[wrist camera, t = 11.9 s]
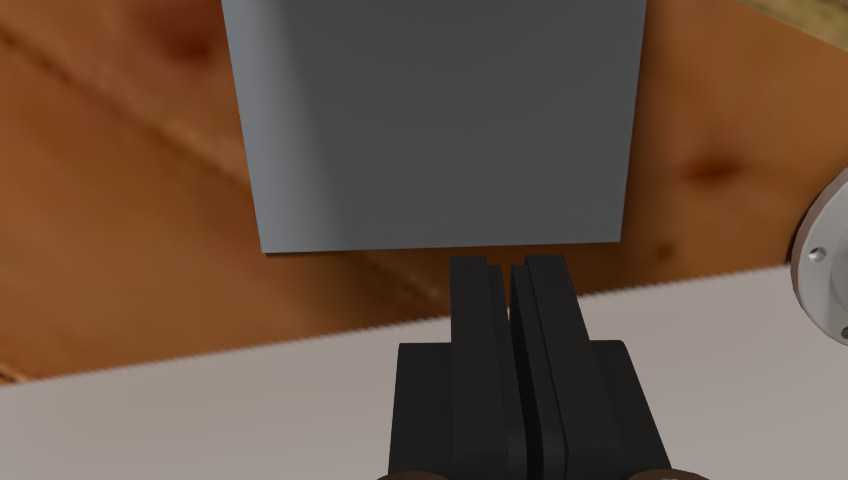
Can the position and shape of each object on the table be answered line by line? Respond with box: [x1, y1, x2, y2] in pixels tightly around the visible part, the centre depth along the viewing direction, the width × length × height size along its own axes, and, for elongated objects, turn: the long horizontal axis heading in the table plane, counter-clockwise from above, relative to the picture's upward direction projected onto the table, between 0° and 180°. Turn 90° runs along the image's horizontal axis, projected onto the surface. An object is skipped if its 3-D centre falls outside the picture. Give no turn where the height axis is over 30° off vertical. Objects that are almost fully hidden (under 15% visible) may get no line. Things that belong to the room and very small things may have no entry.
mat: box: [222, 0, 647, 253], centre depth 33 cm, size 18×14×1 cm
